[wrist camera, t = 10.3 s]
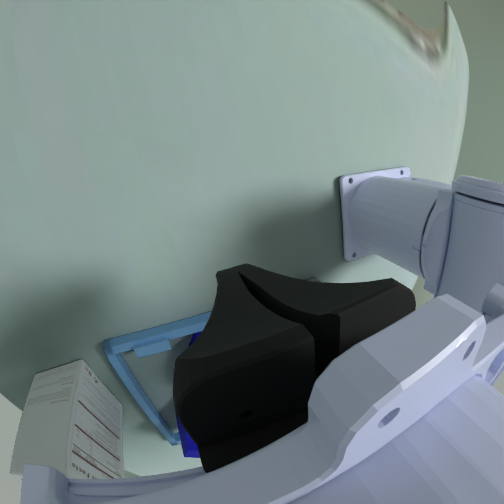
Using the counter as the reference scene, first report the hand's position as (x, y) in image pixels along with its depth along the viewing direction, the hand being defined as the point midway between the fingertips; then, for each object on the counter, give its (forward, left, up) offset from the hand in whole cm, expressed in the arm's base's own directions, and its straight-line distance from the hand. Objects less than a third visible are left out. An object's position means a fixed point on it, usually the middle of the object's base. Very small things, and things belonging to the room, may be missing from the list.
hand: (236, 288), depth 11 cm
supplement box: (+17, +12, -10) cm, 23 cm away
